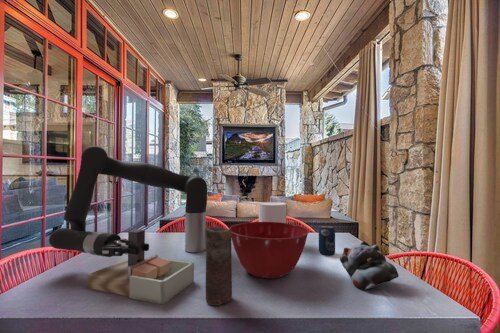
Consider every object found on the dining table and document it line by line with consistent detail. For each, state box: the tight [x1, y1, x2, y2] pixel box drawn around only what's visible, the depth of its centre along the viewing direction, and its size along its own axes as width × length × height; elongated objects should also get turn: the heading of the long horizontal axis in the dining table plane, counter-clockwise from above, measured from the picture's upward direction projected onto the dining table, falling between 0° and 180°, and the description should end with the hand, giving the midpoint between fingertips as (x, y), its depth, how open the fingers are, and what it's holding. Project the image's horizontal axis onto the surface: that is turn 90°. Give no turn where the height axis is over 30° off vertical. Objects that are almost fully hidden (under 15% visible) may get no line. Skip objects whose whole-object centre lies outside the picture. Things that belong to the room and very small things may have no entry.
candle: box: [205, 226, 233, 306], centre depth 73 cm, size 8×7×20 cm
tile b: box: [132, 264, 158, 279], centre depth 78 cm, size 5×5×3 cm
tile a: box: [147, 256, 170, 276], centre depth 84 cm, size 5×5×3 cm
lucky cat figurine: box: [338, 241, 399, 291], centre depth 85 cm, size 15×12×14 cm
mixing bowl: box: [228, 221, 310, 279], centre depth 94 cm, size 28×28×15 cm
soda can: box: [318, 224, 336, 257], centre depth 113 cm, size 7×7×12 cm
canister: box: [258, 201, 287, 223], centre depth 129 cm, size 14×14×20 cm
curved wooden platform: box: [86, 259, 163, 297], centre depth 84 cm, size 17×14×4 cm
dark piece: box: [127, 228, 159, 278], centre depth 82 cm, size 5×12×12 cm, turn 161°
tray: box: [128, 258, 195, 305], centre depth 79 cm, size 11×16×6 cm
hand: (143, 249), depth 82 cm, fingers closed on dark piece, 3 cm apart
